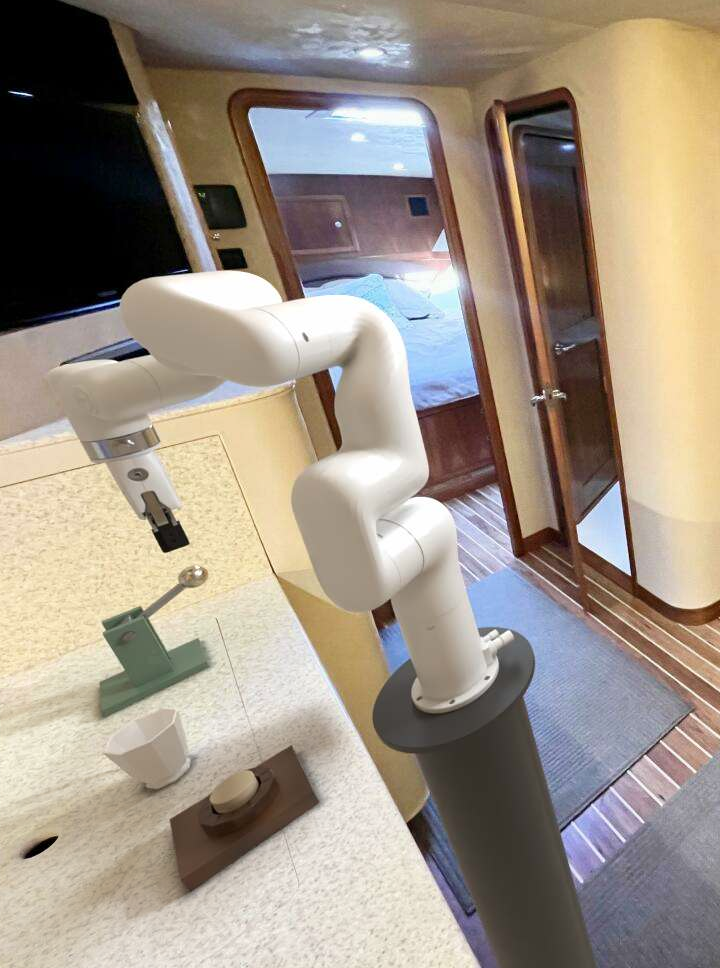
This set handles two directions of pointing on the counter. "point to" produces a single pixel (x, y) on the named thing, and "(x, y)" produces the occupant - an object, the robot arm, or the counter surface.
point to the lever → (175, 590)
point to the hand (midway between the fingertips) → (176, 547)
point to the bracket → (144, 661)
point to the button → (234, 792)
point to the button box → (240, 819)
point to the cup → (151, 748)
